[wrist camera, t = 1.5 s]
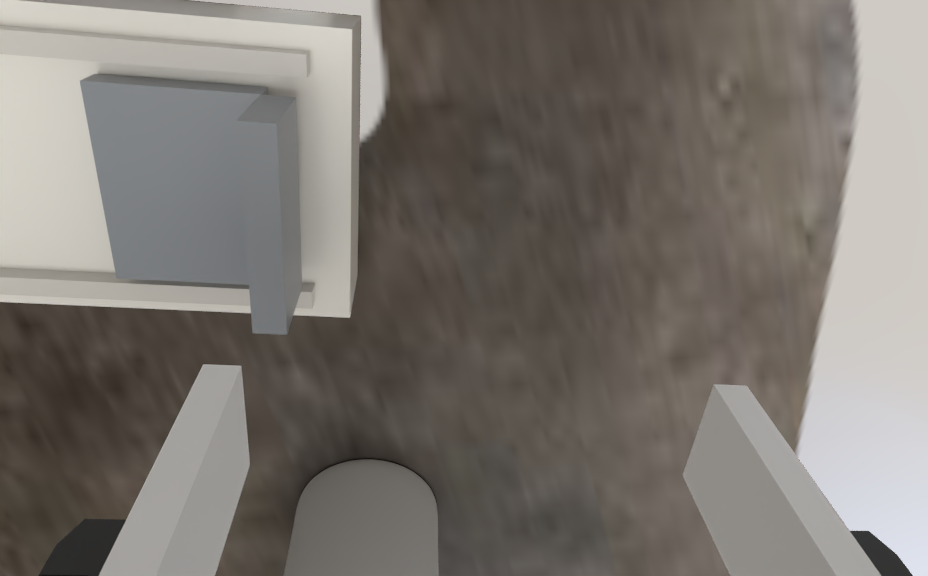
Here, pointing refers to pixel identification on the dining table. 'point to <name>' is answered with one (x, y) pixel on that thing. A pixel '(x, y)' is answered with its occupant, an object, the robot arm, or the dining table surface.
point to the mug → (365, 523)
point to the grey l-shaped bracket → (200, 186)
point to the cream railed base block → (175, 58)
